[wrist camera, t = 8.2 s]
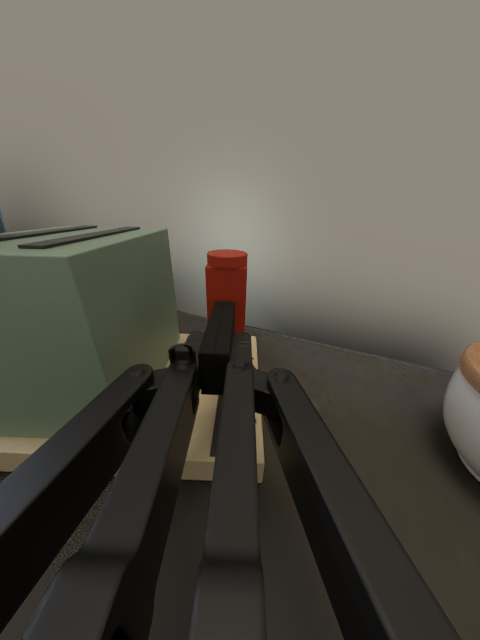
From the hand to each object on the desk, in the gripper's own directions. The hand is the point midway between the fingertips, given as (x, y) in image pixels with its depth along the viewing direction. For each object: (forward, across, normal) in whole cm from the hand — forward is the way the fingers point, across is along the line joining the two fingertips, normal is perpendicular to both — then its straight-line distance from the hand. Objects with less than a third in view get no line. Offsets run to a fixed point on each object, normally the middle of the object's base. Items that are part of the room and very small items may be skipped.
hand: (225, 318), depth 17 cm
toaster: (+1, -6, -9) cm, 11 cm away
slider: (+2, 0, -6) cm, 7 cm away
